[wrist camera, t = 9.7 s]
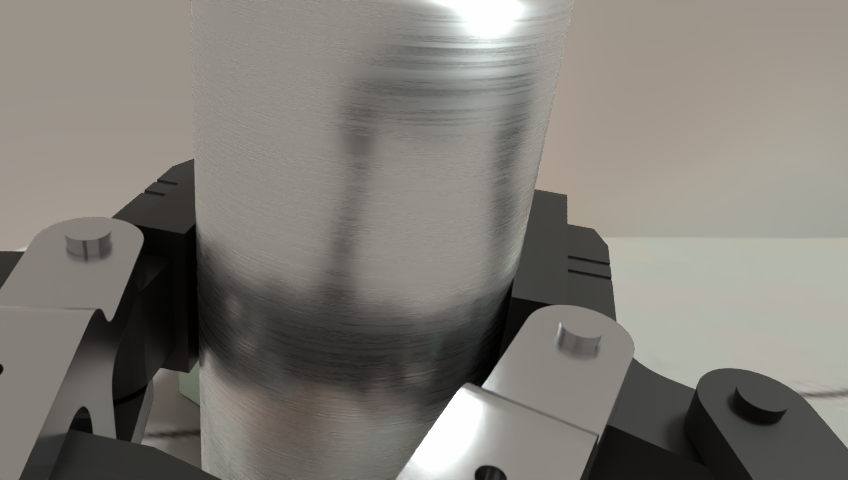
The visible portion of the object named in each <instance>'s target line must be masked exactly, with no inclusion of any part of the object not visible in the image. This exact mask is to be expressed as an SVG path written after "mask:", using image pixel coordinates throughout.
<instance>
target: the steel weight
mask: <svg viewBox="0 0 848 480" xmlns="http://www.w3.org/2000/svg"><path fill="white" fill-rule="evenodd" d="M190 4H191V43H192V85H193V86H192V88H193V128H194V171H195V213H196V254H197V296H198V337H199V379H200V421H201V462H202V470H203V471H205V472H207V473H209V474H211V475H213V476H216V477H218V478H220V479H222V480H395V479H396V478H397V477H398V475H399V474H400V472H401V471H402V469H403V468H404V467H405V465H406V464H407V462H408V461H409V460H410V458H411V457H412V455H413V454H414V453H415V451H416V450H417V448H418V447H419V445H420V444H421V443H422V441H423V440H424V438H425V437H426V436H427V434H428V433H429V431H430V430H431V428H432V427H433V426H434V424H435V423H436V421H437V420H438V419H439V417H440V416H441V414H442V413H443V412H444V410H445V409H446V407H447V406H448V404H449V403H450V402H451V400H452V399H453V397H454V396H455V395H456V393H457V392H458V391H459V389H460V388H461V387H462V386H463V385H464V384H465V383H467V382H470V383H472V384H475V385H477V386H480V387H482V386H483V385H484V383H485V382H486V380H487V379H488V377H489V376H490V374H491V373H492V371H493V370H494V368H495V365H496V360H497V356H498V351H499V346H500V341H501V336H502V332H503V327H504V322H505V317H506V313H507V308H508V303H509V298H510V293H511V289H512V284H513V279H514V276H515V274H516V271H517V268H518V265H519V261H520V256H521V251H522V247H523V242H524V237H525V232H526V228H527V223H528V218H529V213H530V209H531V204H532V199H533V194H534V190H535V185H536V180H537V175H538V171H539V165H540V161H541V156H542V152H543V147H544V142H545V137H546V133H547V128H548V123H549V118H550V114H551V109H552V104H553V99H554V95H555V90H556V85H557V80H558V76H559V71H560V66H561V61H562V57H563V52H564V47H565V42H566V37H567V33H568V28H569V23H570V19H571V14H572V9H573V4H574V0H190Z"/></svg>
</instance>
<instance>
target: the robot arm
mask: <svg viewBox="0 0 848 480" xmlns="http://www.w3.org/2000/svg"><path fill="white" fill-rule="evenodd" d="M609 265H610V259H609V250H608V245H607V244H606V243H605V242H604V241H603V240H602V238H601V237H600V236H599V235H598V234H597V232H596V231H595V230H594V229H591V228H586V227H580V226H575V225H569V224H567V195H564V194H558V193H553V192H547V191H541V190H536V189H535V190H534V194H533V199H532V204H531V209H530V213H529V218H528V223H527V228H526V232H525V237H524V242H523V247H522V251H521V256H520V261H519V265H518V268H517V271H516V274H515V276H514V279H513V284H512V289H511V293H510V298H509V303H508V308H507V313H506V317H505V322H504V327H503V332H502V336H501V341H500V346H499V351H498V356H497V360H496V365H495V368H494V370H493V371H492V373H491V374H490V376H489V377H488V379H487V380H486V382H485V383H484V385H483V386H482V387H480V386H477V385H475V384H472V383H470V382H467V383H465V384H464V385H463V386H462V387H461V388H460V389H459V391H458V392H457V393H456V395H455V396H454V397H453V399H452V400H451V402H450V403H449V404H448V406H447V407H446V409H445V410H444V412H443V413H442V414H441V416H440V417H439V419H438V420H437V421H436V423H435V424H434V426H433V427H432V428H431V430H430V431H429V433H428V434H427V436H426V437H425V438H424V440H423V441H422V443H421V444H420V445H419V447H418V448H417V450H416V451H415V453H414V454H413V455H412V457H411V458H410V460H409V461H408V462H407V464H406V465H405V467H404V468H403V469H402V471H401V472H400V474H399V475H398V477H397V478H396V479H395V480H848V448H847V447H846V446H845V445H844V444H843V443H842V441H841V440H840V439H839V438H838V437H837V436H836V434H835V433H834V432H833V431H832V430H831V429H830V427H829V426H828V425H827V424H826V423H825V422H824V420H823V419H822V418H821V417H820V416H819V415H818V413H817V412H816V411H815V410H814V409H813V408H812V407H811V405H810V404H809V403H808V402H807V401H806V400H805V399H804V398H802V397H801V396H800V395H799V394H798V393H796V392H795V391H793V390H792V389H790V388H789V387H787V386H786V385H784V384H782V383H780V382H778V381H776V380H774V379H772V378H770V377H767V376H764V375H762V374H759V373H755V372H752V371H748V370H742V369H732V368H725V369H717V370H713V371H710V372H708V373H706V374H705V375H704V376H702V377H701V379H700V380H699V382H698V385H697V387H696V390H695V389H693V388H690V387H688V386H685V385H683V384H680V383H678V382H675V381H673V380H670V379H668V378H666V377H663V376H661V375H659V374H657V373H655V372H653V371H651V370H650V369H648V368H646V367H645V366H643V365H642V364H640V363H639V362H638V361H637V360H635V359H634V358H633V354H634V343H633V340H632V338H631V336H630V335H629V333H628V332H627V331H626V330H625V329H624V328H623V327H622V326H621V325H620V324H618V323H617V322H616V313H615V304H614V295H613V286H612V281H611V268H610V266H609ZM198 360H199V337H198V296H197V254H196V213H195V171H194V159H192V160H189V161H187V162H184V163H181V164H178V165H175V166H173V167H172V168H170V169H169V170H168V171H167V172H166V173H165V174H163V175H162V176H161V177H160V178H159V179H158V180H157V182H154V183H153V184H151V185H150V186H149V187H148V188H147V189H145V192H144V193H141V194H139V195H138V196H137V197H136V198H135V199H133V200H132V201H131V202H130V203H129V204H127V205H126V206H125V207H124V208H123V209H121V210H120V211H119V212H118V213H117V214H115V215H114V216H113V217H112V218H104V217H86V218H77V219H72V220H67V221H63V222H60V223H57V224H54V225H52V226H50V227H48V228H46V229H44V230H42V231H41V232H40V233H38V234H37V235H36V237H35V238H34V239H33V241H32V242H31V244H30V245H29V247H28V248H27V250H26V251H24V252H14V251H9V252H8V251H0V480H222V479H220V478H218V477H216V476H213V475H211V474H209V473H207V472H205V471H203V470H201V469H199V468H197V467H194V466H192V465H190V464H188V463H186V462H184V461H182V460H180V459H177V458H175V457H173V456H171V455H169V454H167V453H165V452H163V451H161V450H158V449H156V448H154V447H151V446H146V445H141V441H142V437H143V434H144V430H145V427H146V423H147V419H148V416H149V412H150V409H151V405H152V401H153V381H152V378H153V377H154V375H155V374H156V373H157V371H158V370H159V369H160V368H165V369H169V370H174V371H179V372H184V373H190V371H191V370H192V369H193V367H194V366H195V364H196V363H197V361H198Z"/></svg>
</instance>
